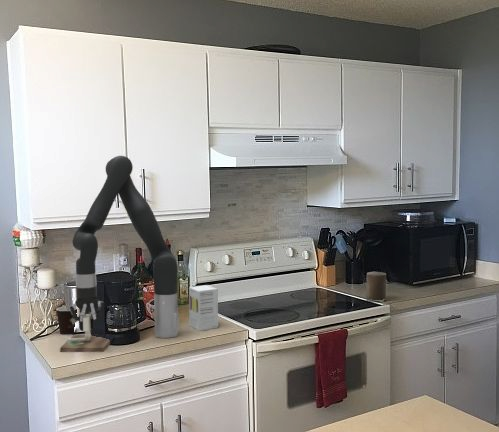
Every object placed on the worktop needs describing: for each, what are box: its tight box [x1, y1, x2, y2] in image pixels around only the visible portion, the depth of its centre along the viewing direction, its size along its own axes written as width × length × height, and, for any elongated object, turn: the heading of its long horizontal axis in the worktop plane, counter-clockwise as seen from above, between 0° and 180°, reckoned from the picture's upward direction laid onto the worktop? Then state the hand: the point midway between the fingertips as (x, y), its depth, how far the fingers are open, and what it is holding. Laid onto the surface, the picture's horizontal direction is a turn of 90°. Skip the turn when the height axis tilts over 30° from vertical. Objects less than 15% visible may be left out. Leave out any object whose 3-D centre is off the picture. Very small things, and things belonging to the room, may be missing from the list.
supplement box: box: [188, 284, 219, 331], centre depth 245 cm, size 10×9×17 cm
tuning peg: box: [67, 313, 92, 341], centre depth 221 cm, size 8×6×9 cm
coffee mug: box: [56, 305, 77, 335], centre depth 239 cm, size 12×9×10 cm
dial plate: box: [59, 334, 111, 353], centre depth 221 cm, size 16×16×2 cm
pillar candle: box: [365, 270, 387, 300], centre depth 292 cm, size 10×10×15 cm
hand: (87, 329), depth 221 cm, fingers closed on tuning peg, 3 cm apart
